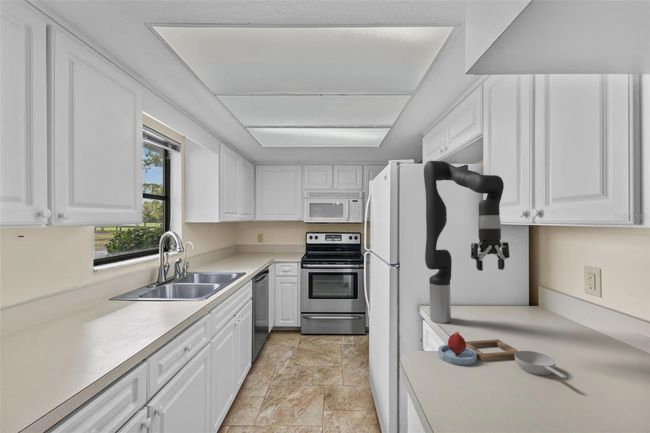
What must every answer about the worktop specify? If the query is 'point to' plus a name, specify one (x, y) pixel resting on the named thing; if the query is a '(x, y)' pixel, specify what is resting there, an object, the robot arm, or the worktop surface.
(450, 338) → the onion
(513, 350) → the frame
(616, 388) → the worktop surface
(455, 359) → the dish
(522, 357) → the saucepan
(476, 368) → the worktop surface
